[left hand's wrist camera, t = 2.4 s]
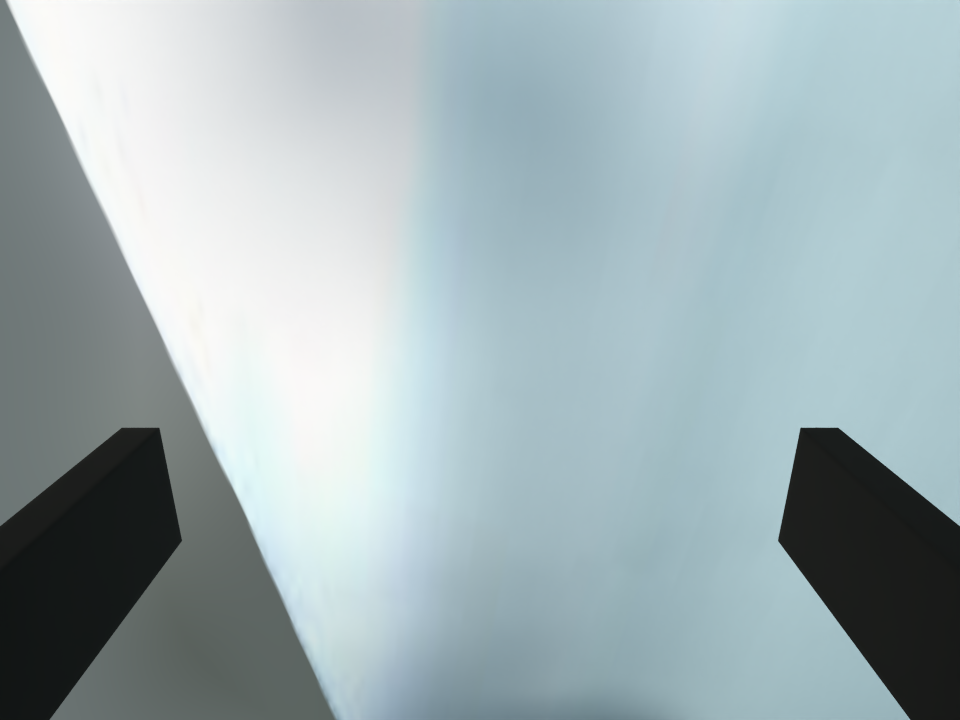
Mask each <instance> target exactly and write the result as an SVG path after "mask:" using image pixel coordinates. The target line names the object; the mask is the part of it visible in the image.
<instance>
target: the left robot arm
mask: <svg viewBox="0 0 960 720" xmlns="http://www.w3.org/2000/svg"><path fill="white" fill-rule="evenodd" d="M181 541H182V539H181V534H180V529H179V524H178V519H177V514H176V509H175V504H174V499H173V494H172V489H171V484H170V479H169V474H168V469H167V464H166V459H165V454H164V449H163V444H162V439H161V434H160V429H159V428H121V429H120V430H119V431H117V432H116V433H115V434H114V435H112V436H111V437H110V438H109V439H108V440H106V441H105V442H104V443H103V444H101V445H100V446H99V447H98V448H96V449H95V450H94V451H93V452H91V453H90V454H89V455H88V456H87V457H85V458H84V459H83V460H82V461H80V462H79V463H78V464H77V465H75V466H74V467H73V468H72V469H71V470H69V471H68V472H67V473H66V474H64V475H63V476H62V477H61V478H59V479H58V480H57V481H56V482H54V483H53V484H52V485H51V486H49V487H48V488H47V489H46V490H45V491H43V492H42V493H41V494H40V495H38V496H37V497H36V498H35V499H33V500H32V501H31V502H30V503H28V504H27V505H26V506H25V507H24V508H22V509H21V510H20V511H19V512H17V513H16V514H15V515H14V516H12V517H11V518H10V519H9V520H7V521H6V522H5V523H4V524H3V525H1V526H0V720H50V718H51V717H52V716H53V714H54V713H55V711H56V710H57V709H58V707H59V706H60V705H61V703H62V702H63V701H64V699H65V698H66V697H67V695H68V694H69V693H70V691H71V690H72V688H73V687H74V686H75V685H76V683H77V682H78V680H79V679H80V678H81V676H82V675H83V674H84V672H85V671H86V670H87V668H88V667H89V666H90V664H91V663H92V662H93V660H94V659H95V657H96V656H97V655H98V653H99V652H100V651H101V649H102V648H103V647H104V645H105V644H106V643H107V641H108V640H109V639H110V637H111V636H112V635H113V633H114V632H115V630H116V629H117V628H118V626H119V625H120V624H121V622H122V621H123V620H124V618H125V617H126V616H127V614H128V613H129V611H130V610H131V609H132V607H133V606H134V605H135V603H136V602H137V601H138V599H139V598H140V597H141V595H142V594H143V593H144V591H145V590H146V589H147V587H148V586H149V585H150V583H151V582H152V580H153V579H154V578H155V576H156V575H157V574H158V572H159V571H160V570H161V568H162V567H163V566H164V564H165V563H166V562H167V560H168V559H169V557H170V556H171V555H172V553H173V552H174V551H175V549H176V548H177V547H178V545H179V544H180V543H181ZM778 541H779V543H780V544H781V545H782V547H783V548H784V549H785V551H786V552H787V553H788V555H789V556H790V557H791V559H792V560H793V562H794V563H795V564H796V566H797V567H798V568H799V570H800V571H801V572H802V574H803V575H804V576H805V578H806V579H807V580H808V582H809V583H810V585H811V586H812V587H813V589H814V590H815V591H816V593H817V594H818V595H819V597H820V598H821V599H822V601H823V602H824V603H825V605H826V606H827V607H828V609H829V610H830V612H831V613H832V614H833V616H834V617H835V618H836V620H837V621H838V622H839V624H840V625H841V626H842V628H843V629H844V630H845V632H846V633H847V635H848V636H849V637H850V639H851V640H852V641H853V643H854V644H855V645H856V647H857V648H858V649H859V651H860V652H861V653H862V655H863V656H864V657H865V659H866V660H867V662H868V663H869V664H870V666H871V667H872V668H873V670H874V671H875V672H876V674H877V675H878V676H879V678H880V679H881V680H882V682H883V683H884V685H885V686H886V687H887V689H888V690H889V691H890V693H891V694H892V695H893V697H894V698H895V699H896V701H897V702H898V703H899V705H900V706H901V707H902V709H903V710H904V712H905V713H906V714H907V716H908V717H909V718H910V720H960V526H959V525H957V524H956V523H955V522H954V521H953V520H951V519H950V518H949V517H948V516H946V515H945V514H944V513H943V512H941V511H940V510H939V509H938V508H936V507H935V506H934V505H933V504H932V503H930V502H929V501H928V500H927V499H925V498H924V497H923V496H922V495H920V494H919V493H918V492H917V491H915V490H914V489H913V488H912V487H911V486H909V485H908V484H907V483H906V482H904V481H903V480H902V479H901V478H899V477H898V476H897V475H896V474H894V473H893V472H892V471H891V470H890V469H888V468H887V467H886V466H885V465H883V464H882V463H881V462H880V461H878V460H877V459H876V458H875V457H873V456H872V455H871V454H870V453H869V452H867V451H866V450H865V449H864V448H862V447H861V446H860V445H859V444H857V443H856V442H855V441H854V440H852V439H851V438H850V437H849V436H848V435H846V434H845V433H844V432H843V431H841V430H840V429H839V428H801V429H800V434H799V439H798V444H797V449H796V454H795V459H794V464H793V469H792V474H791V479H790V484H789V489H788V494H787V499H786V504H785V509H784V514H783V519H782V524H781V529H780V534H779V539H778Z"/></svg>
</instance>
